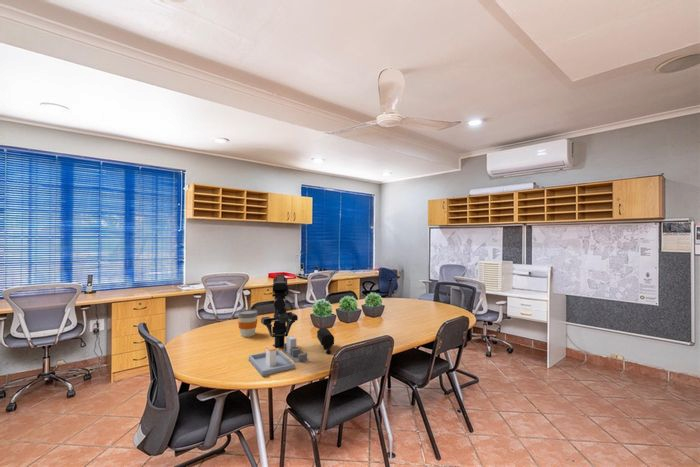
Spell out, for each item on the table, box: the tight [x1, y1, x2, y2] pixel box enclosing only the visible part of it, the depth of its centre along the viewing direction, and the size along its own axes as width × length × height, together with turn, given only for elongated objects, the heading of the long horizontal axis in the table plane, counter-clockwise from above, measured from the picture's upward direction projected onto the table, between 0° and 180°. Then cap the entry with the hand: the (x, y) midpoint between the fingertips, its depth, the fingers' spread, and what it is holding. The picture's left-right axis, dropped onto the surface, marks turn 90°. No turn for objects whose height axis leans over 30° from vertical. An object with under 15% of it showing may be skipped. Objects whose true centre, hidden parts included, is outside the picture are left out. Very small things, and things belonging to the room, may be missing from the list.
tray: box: [248, 349, 296, 377], centre depth 163 cm, size 23×16×2 cm
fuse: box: [285, 335, 297, 353], centre depth 180 cm, size 6×3×8 cm, turn 32°
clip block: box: [280, 342, 310, 364], centre depth 175 cm, size 21×8×4 cm, turn 32°
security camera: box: [316, 327, 335, 355], centre depth 186 cm, size 7×18×10 cm, turn 16°
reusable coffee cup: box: [237, 309, 259, 338], centre depth 211 cm, size 13×13×15 cm
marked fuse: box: [265, 344, 277, 366], centre depth 163 cm, size 6×3×8 cm, turn 32°
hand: (279, 335), depth 173 cm, fingers open, 9 cm apart
